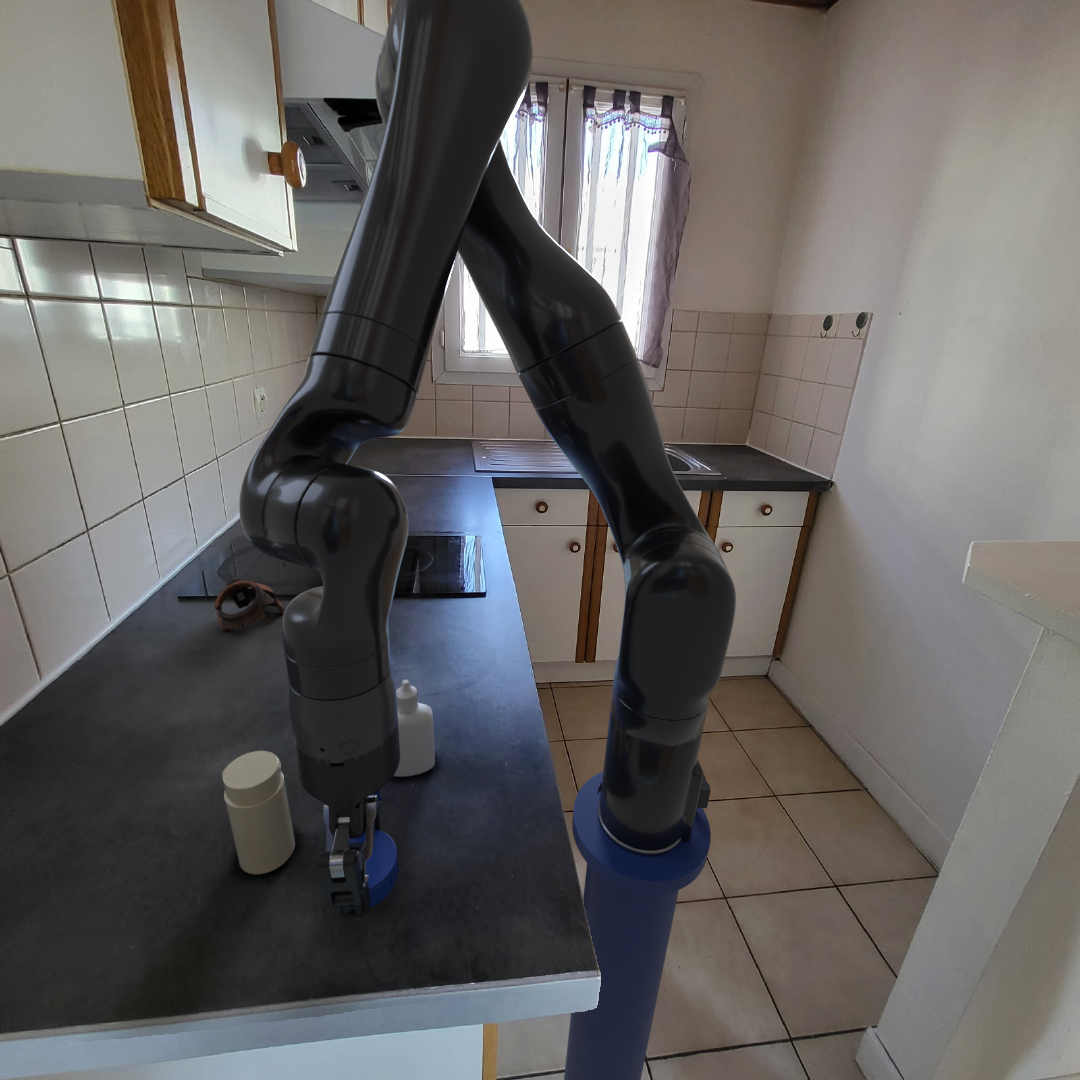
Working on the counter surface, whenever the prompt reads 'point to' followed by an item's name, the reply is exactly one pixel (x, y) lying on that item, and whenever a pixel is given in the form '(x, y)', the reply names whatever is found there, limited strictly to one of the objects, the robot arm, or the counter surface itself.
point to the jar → (258, 811)
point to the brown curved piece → (245, 603)
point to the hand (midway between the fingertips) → (362, 873)
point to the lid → (381, 866)
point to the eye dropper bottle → (414, 733)
